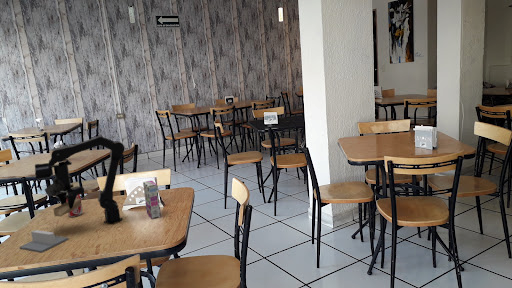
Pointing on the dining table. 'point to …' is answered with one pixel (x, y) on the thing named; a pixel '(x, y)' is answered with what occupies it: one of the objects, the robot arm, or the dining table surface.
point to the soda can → (76, 211)
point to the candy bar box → (152, 199)
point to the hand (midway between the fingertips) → (67, 208)
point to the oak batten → (66, 208)
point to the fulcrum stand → (43, 241)
